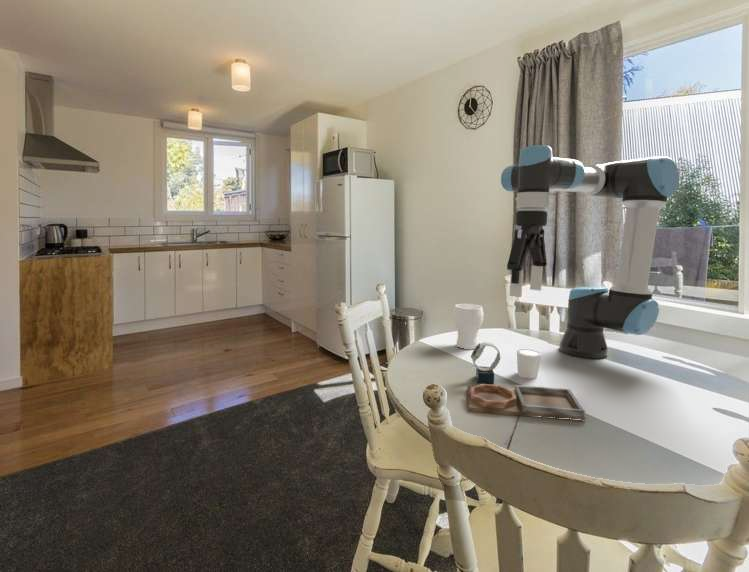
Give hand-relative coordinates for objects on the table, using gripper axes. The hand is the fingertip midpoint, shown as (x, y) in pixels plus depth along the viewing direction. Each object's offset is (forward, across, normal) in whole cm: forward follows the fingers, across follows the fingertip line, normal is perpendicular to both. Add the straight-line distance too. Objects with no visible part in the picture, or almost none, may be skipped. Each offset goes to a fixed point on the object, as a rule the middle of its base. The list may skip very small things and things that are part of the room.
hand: (525, 293), depth 108 cm
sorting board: (+27, +8, +4) cm, 28 cm away
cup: (+27, -26, -30) cm, 48 cm away
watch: (+27, -1, -10) cm, 29 cm away
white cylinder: (+27, -13, -3) cm, 30 cm away
